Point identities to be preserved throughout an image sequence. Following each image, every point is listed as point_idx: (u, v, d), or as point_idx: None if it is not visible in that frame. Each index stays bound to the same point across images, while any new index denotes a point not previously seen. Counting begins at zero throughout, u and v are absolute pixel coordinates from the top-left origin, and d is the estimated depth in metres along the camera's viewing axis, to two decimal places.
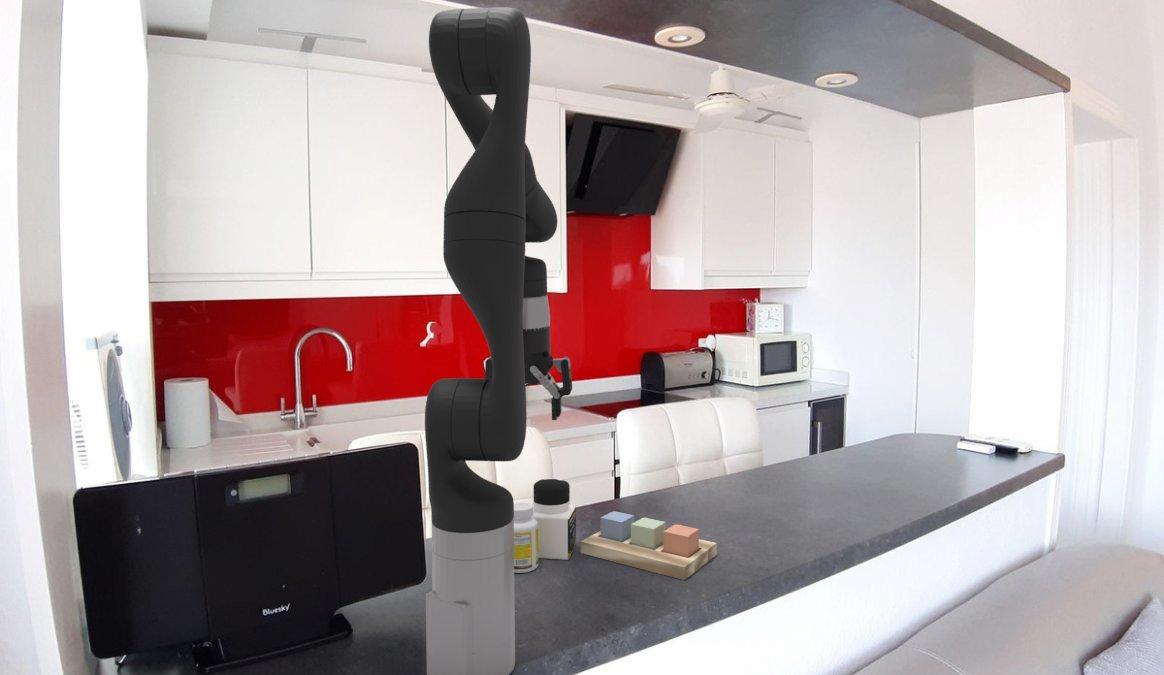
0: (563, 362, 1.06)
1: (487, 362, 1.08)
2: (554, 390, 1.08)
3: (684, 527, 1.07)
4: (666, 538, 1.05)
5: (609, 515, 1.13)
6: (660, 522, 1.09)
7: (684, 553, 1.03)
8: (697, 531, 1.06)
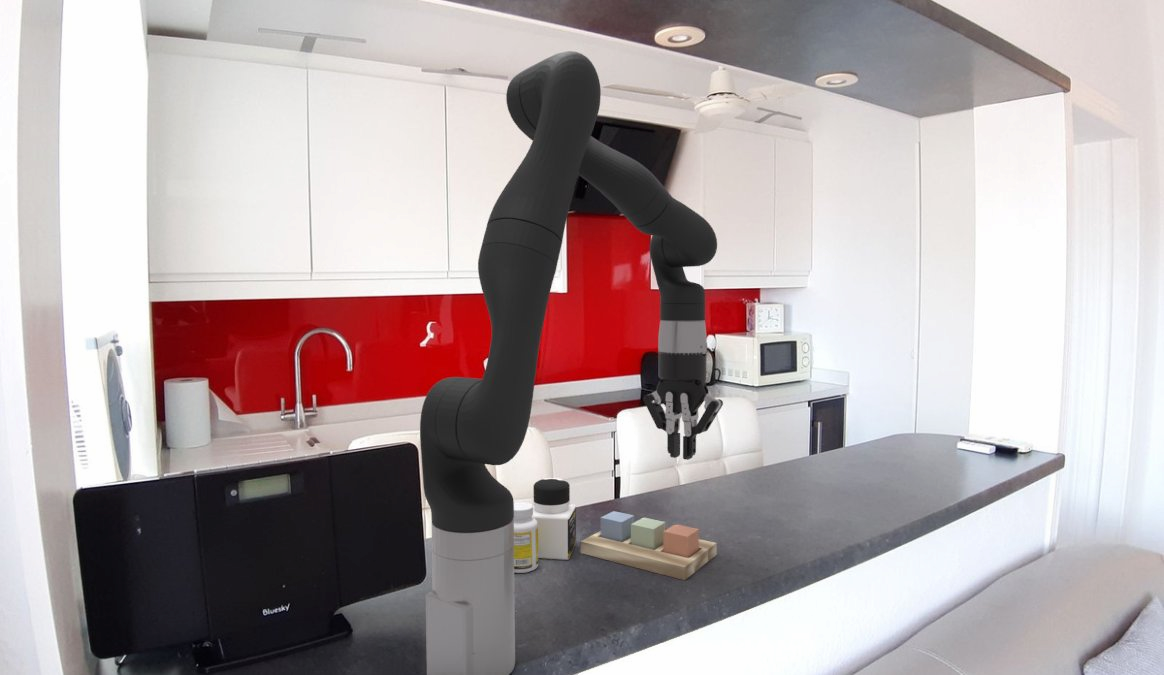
0: (712, 403, 1.00)
1: (645, 399, 1.07)
2: (686, 427, 1.03)
3: (684, 527, 1.07)
4: (666, 538, 1.05)
5: (609, 515, 1.13)
6: (660, 522, 1.09)
7: (684, 553, 1.03)
8: (697, 531, 1.06)
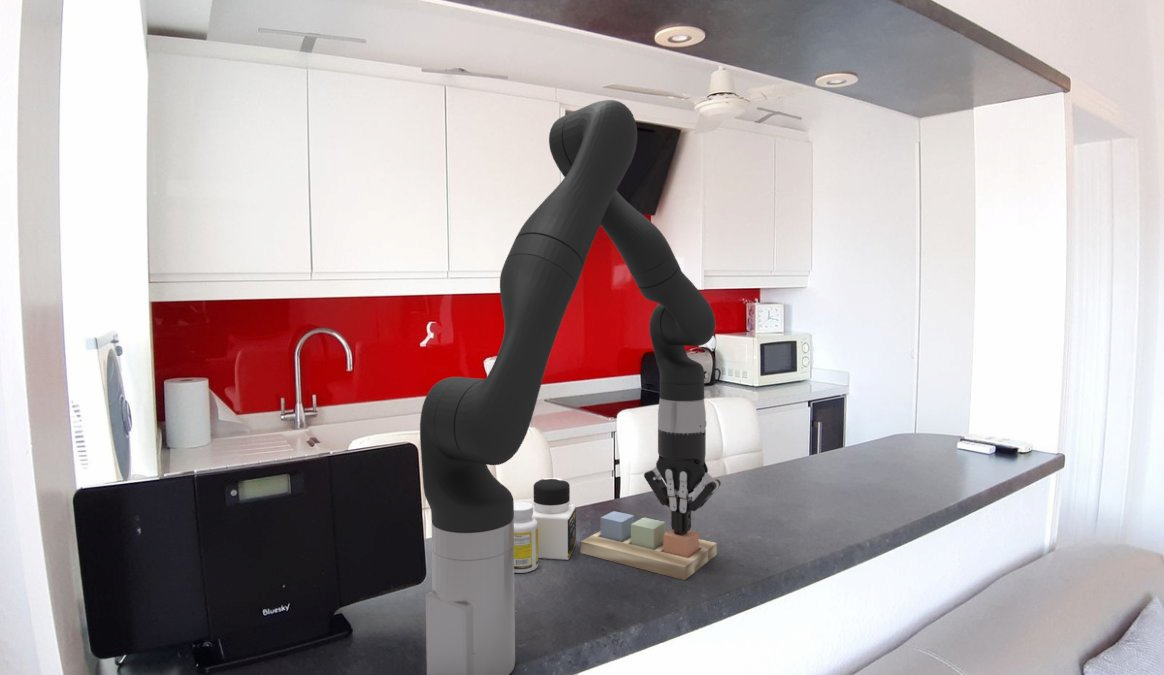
0: (710, 485, 1.01)
1: (646, 476, 1.08)
2: (681, 503, 1.04)
3: None
4: (666, 541, 1.05)
5: (609, 515, 1.13)
6: (660, 522, 1.09)
7: (684, 556, 1.03)
8: (697, 534, 1.06)
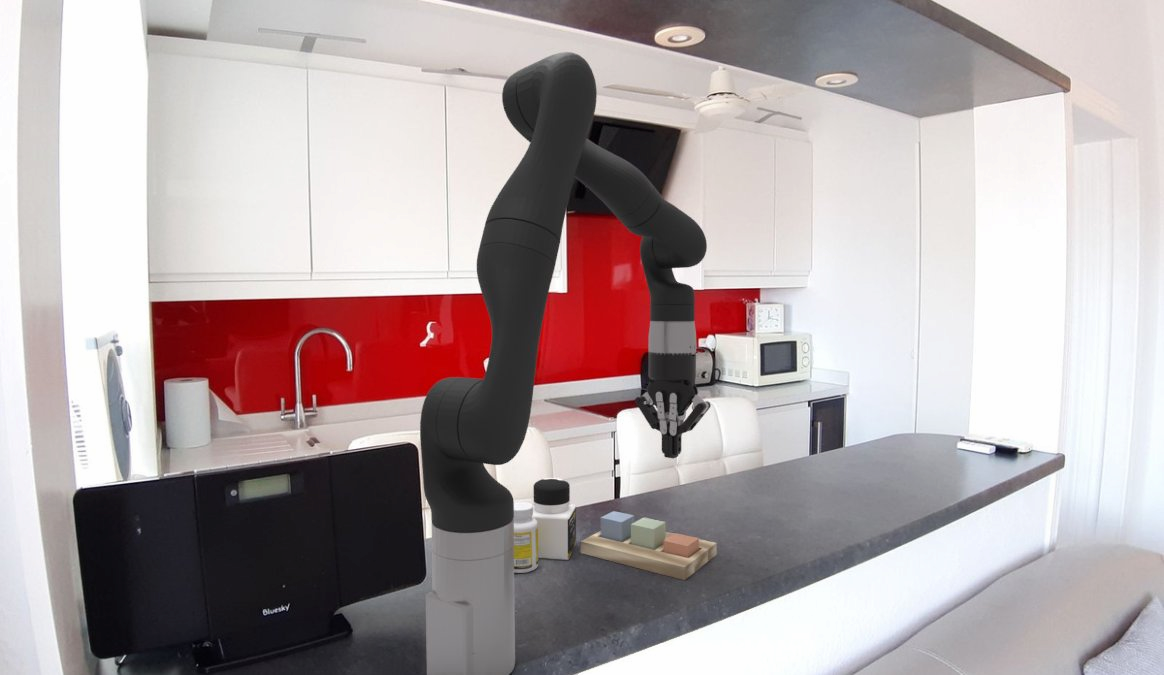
0: (700, 405, 1.01)
1: (637, 401, 1.08)
2: (671, 426, 1.04)
3: (683, 536, 1.07)
4: (666, 547, 1.05)
5: (609, 515, 1.13)
6: (660, 522, 1.09)
7: None
8: (697, 540, 1.06)
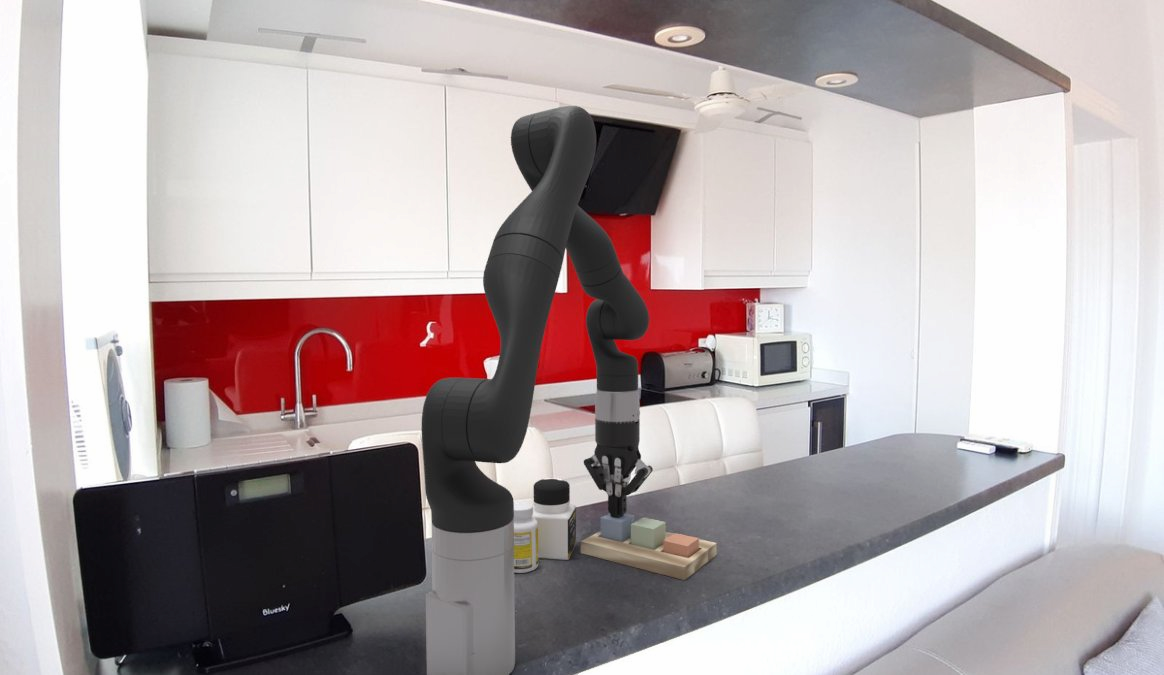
0: (642, 470, 1.08)
1: (585, 463, 1.14)
2: (616, 488, 1.11)
3: (683, 536, 1.07)
4: (666, 547, 1.05)
5: (609, 515, 1.13)
6: (660, 522, 1.09)
7: None
8: (697, 540, 1.06)
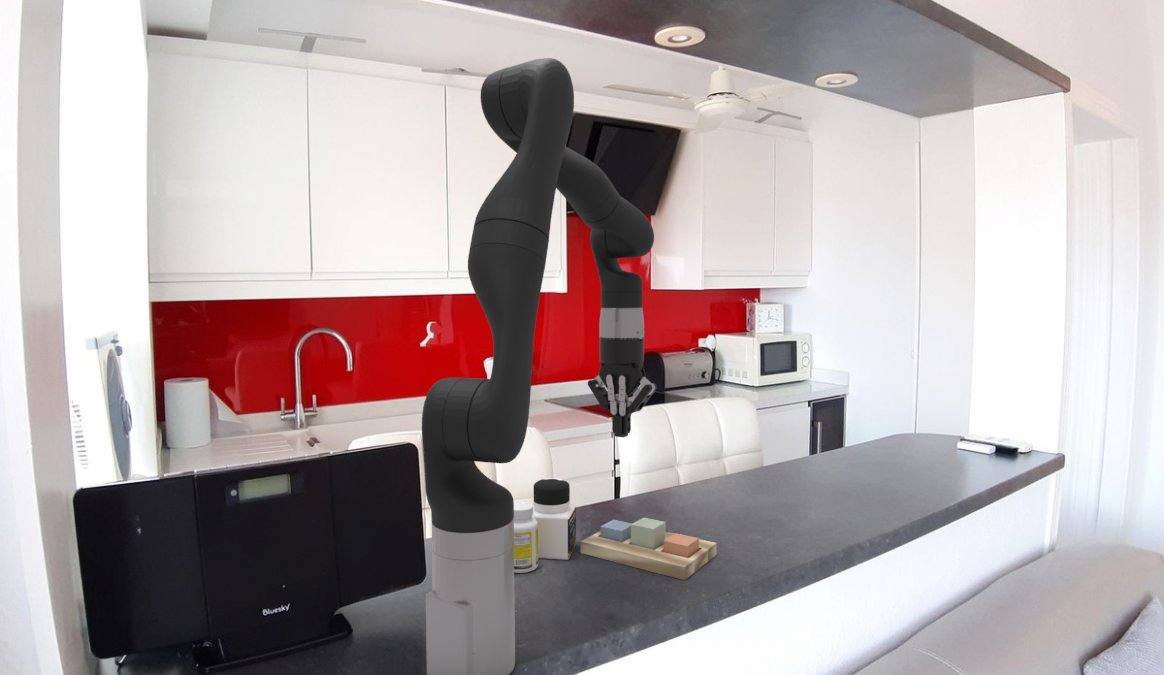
0: (646, 386, 1.08)
1: (589, 384, 1.14)
2: (620, 406, 1.11)
3: (683, 536, 1.07)
4: (666, 547, 1.05)
5: (609, 523, 1.13)
6: (660, 522, 1.09)
7: None
8: (697, 540, 1.06)
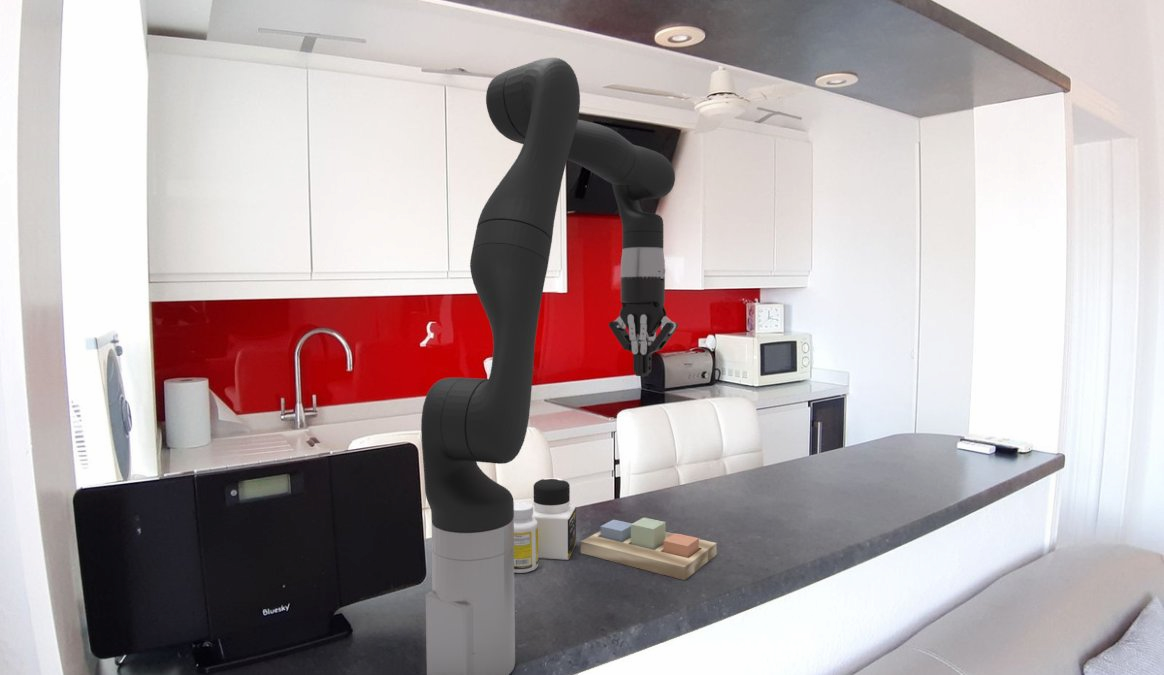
0: (668, 324, 1.09)
1: (610, 325, 1.16)
2: (642, 346, 1.13)
3: (683, 536, 1.07)
4: (666, 547, 1.05)
5: (609, 523, 1.13)
6: (660, 522, 1.09)
7: None
8: (697, 540, 1.06)
